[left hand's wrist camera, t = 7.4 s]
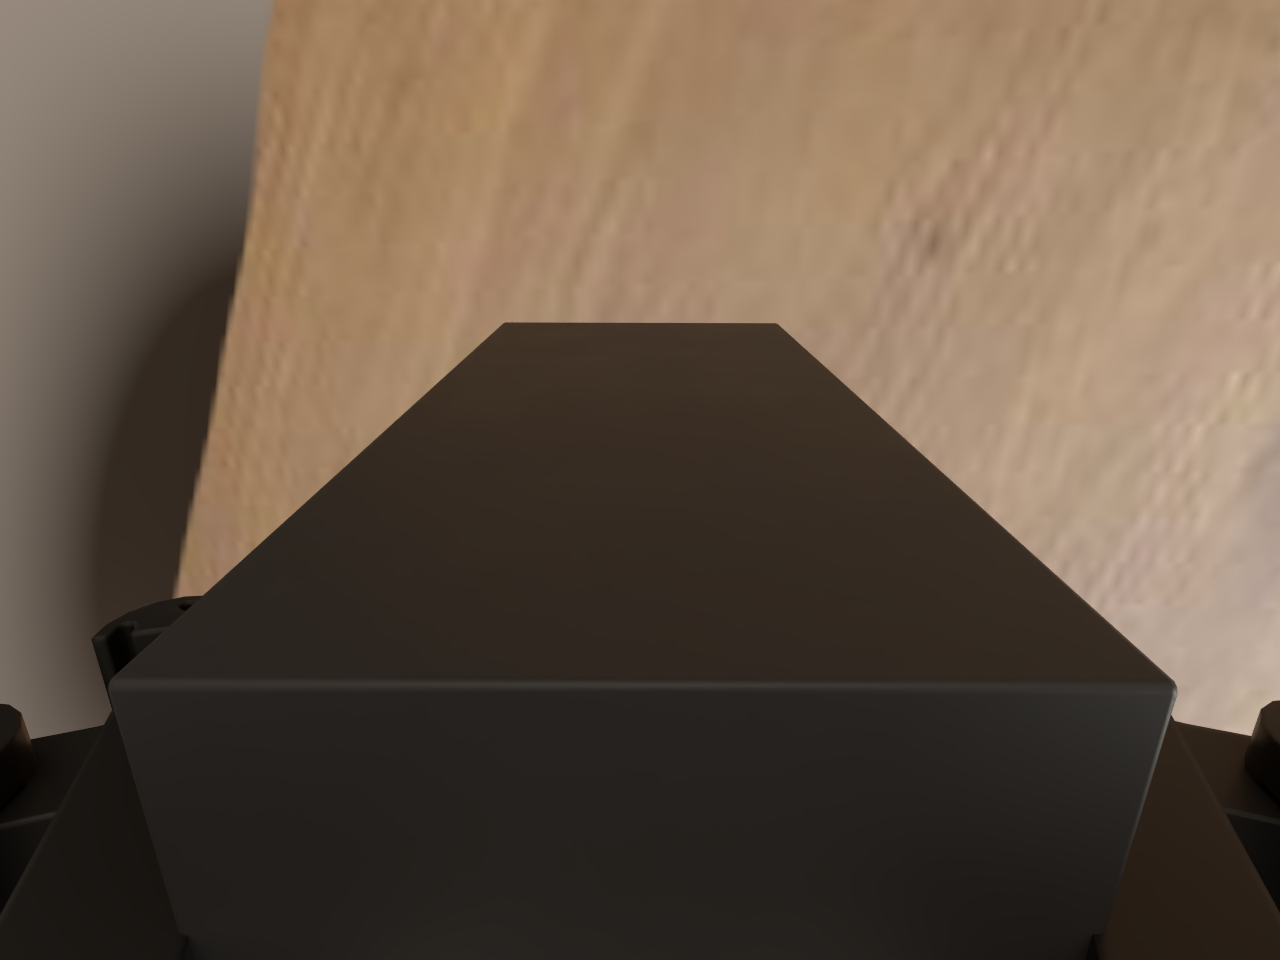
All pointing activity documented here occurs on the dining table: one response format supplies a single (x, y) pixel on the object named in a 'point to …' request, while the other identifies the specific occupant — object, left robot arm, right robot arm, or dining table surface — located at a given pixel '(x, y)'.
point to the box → (641, 686)
